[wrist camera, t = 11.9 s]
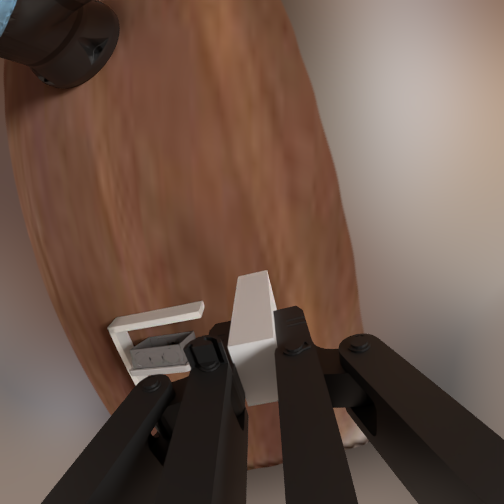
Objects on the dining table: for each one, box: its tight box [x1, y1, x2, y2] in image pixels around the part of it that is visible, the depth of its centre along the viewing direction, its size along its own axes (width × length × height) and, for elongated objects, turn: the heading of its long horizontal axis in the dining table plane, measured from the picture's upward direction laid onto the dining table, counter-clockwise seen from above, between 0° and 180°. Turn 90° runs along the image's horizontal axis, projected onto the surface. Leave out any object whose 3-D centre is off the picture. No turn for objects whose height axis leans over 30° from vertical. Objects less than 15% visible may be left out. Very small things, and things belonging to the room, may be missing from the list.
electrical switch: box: [129, 331, 195, 376], centre depth 43 cm, size 9×5×9 cm, turn 102°
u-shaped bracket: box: [108, 301, 205, 385], centre depth 46 cm, size 16×15×4 cm
